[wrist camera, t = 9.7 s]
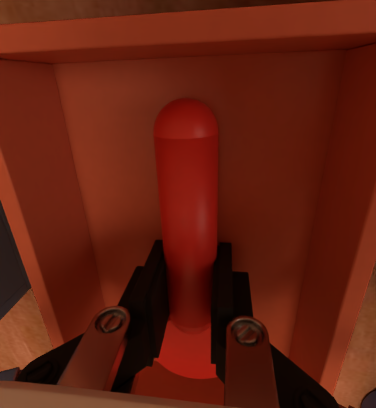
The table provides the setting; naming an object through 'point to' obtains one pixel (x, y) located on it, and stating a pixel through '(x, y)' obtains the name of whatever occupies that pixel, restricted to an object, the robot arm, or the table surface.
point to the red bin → (227, 164)
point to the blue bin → (10, 268)
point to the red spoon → (188, 231)
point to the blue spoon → (370, 401)
